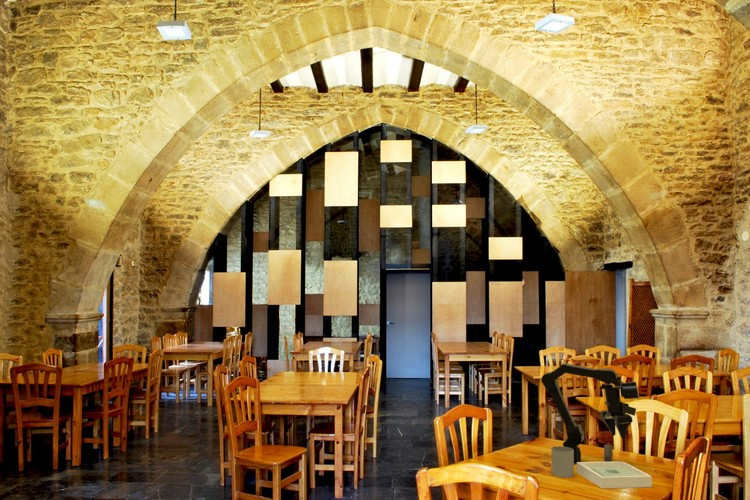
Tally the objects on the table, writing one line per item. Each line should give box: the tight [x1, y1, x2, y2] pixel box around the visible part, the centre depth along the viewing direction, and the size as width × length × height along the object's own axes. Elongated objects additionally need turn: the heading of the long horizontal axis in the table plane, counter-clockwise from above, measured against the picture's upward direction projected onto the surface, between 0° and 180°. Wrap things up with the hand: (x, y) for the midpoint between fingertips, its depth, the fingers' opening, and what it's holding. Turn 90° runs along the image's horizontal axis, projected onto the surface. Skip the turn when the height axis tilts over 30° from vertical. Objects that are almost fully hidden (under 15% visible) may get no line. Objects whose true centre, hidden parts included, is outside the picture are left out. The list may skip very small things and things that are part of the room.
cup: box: [551, 445, 575, 479], centre depth 239 cm, size 8×8×10 cm
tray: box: [576, 461, 653, 489], centre depth 233 cm, size 20×20×4 cm
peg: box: [603, 443, 613, 462], centre depth 250 cm, size 3×3×9 cm
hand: (618, 437), depth 249 cm, fingers open, 9 cm apart
